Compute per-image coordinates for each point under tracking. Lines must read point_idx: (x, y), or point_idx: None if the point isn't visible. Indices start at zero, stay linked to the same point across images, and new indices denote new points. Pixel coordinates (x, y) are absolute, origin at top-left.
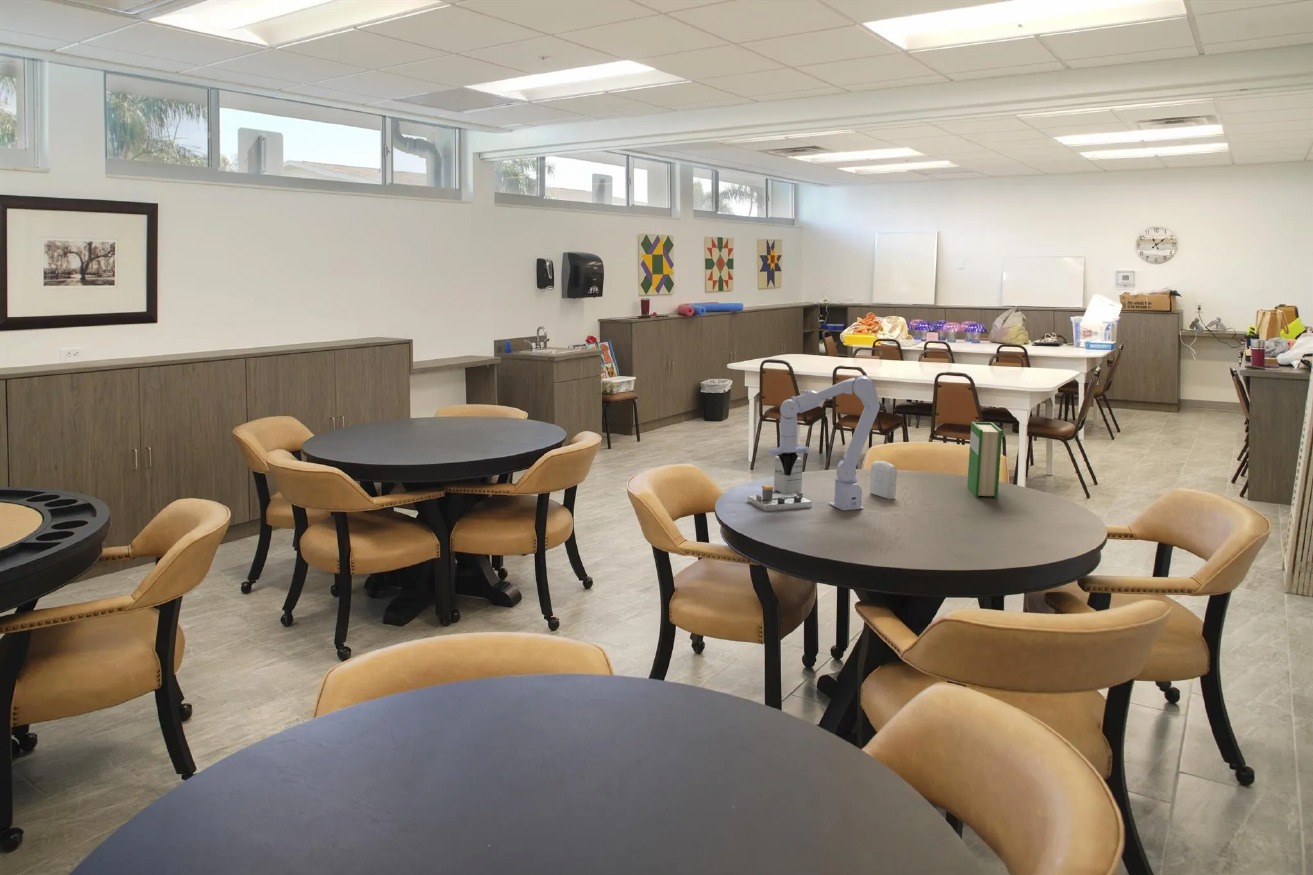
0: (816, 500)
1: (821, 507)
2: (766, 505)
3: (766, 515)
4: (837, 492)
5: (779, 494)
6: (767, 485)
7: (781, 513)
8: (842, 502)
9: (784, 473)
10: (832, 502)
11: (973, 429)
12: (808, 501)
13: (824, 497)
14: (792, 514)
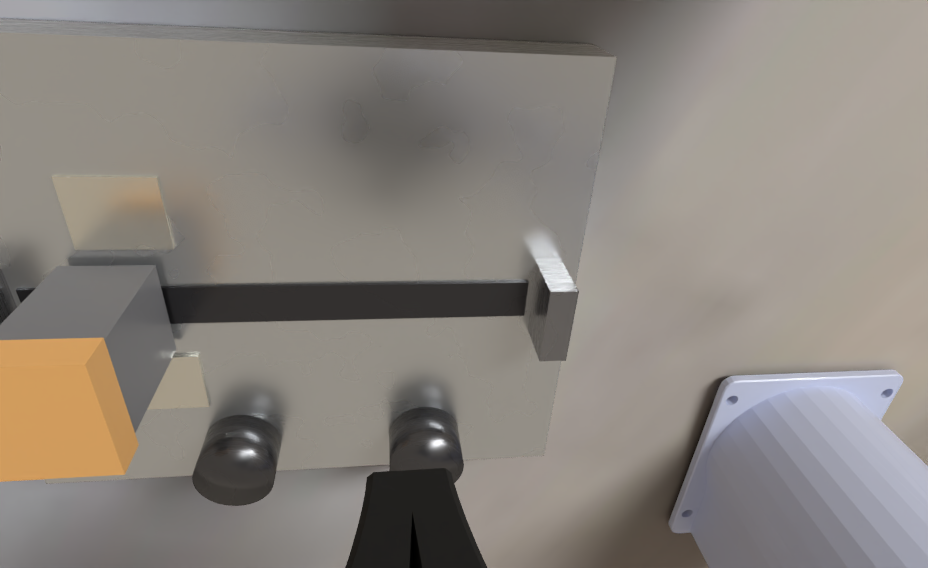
0: (735, 232)
1: (603, 429)
2: (62, 481)
3: (62, 525)
4: (765, 563)
5: (377, 115)
6: (45, 390)
7: (209, 502)
8: (719, 538)
9: (367, 494)
10: (756, 385)
11: None
12: (519, 448)
13: (896, 148)
14: (287, 532)
